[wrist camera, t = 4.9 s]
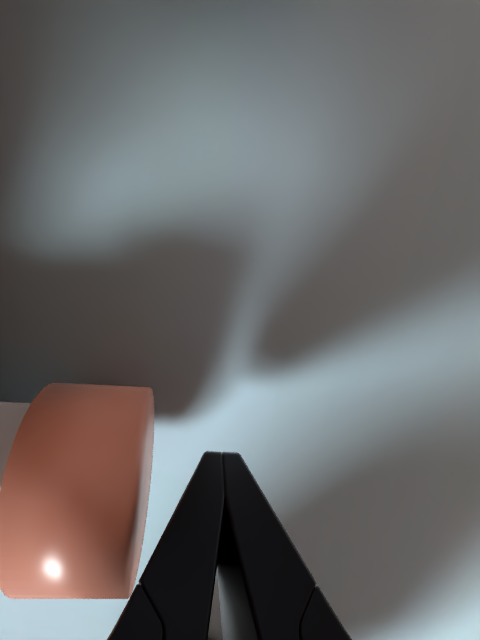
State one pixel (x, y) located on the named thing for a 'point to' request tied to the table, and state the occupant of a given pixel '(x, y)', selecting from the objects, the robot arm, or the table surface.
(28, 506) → the red knob
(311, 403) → the table surface
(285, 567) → the robot arm
